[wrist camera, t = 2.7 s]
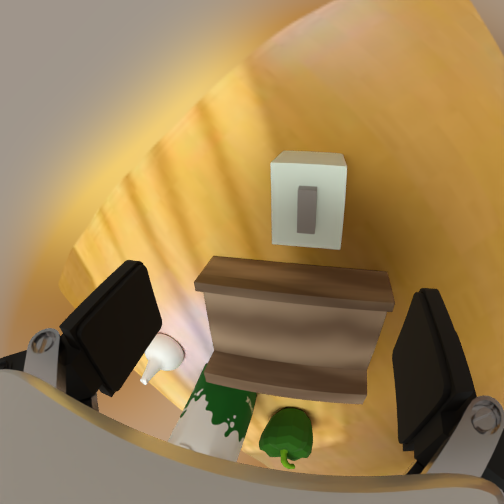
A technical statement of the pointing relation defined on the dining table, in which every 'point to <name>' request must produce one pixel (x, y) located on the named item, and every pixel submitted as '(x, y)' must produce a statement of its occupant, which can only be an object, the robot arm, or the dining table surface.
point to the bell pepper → (288, 436)
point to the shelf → (293, 327)
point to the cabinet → (308, 199)
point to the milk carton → (214, 420)
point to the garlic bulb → (162, 356)
